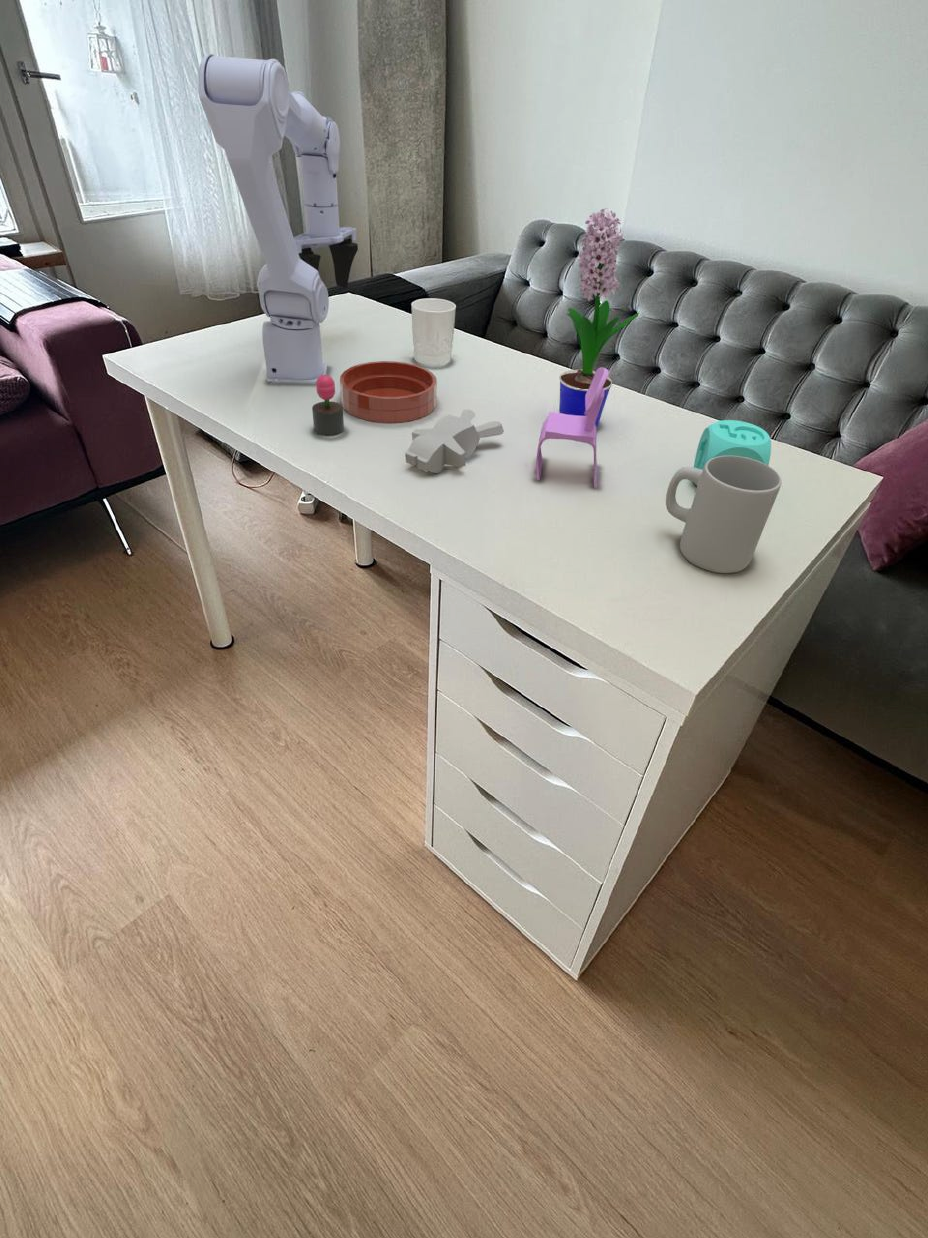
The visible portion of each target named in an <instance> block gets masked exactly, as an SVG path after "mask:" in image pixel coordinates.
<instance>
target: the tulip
mask: <svg viewBox="0 0 928 1238" xmlns="http://www.w3.org/2000/svg"><path fill="white" fill-rule="evenodd" d="M315 385H316V386H315V387H316V388H315V389H316V393H317V394H316V395H318V397H319V398H320V399H322V400H323V401H320V402H317V403H315V404H313V405H312V407H311V410H312V420H313V430H314V432H315V434H317V435H319V436H323V437H335V436H339V435H341V434H342V433H344V431H345V423H344V408H343V406H342V404H341V403H339V402H337V401H336V402H335V401H331V400H332V399H333V398H334V396H335V394H336V384H335V381H334V378H333V377H332V376H330V375H329V374H326V375H321V376H320V377H319V378H318V379H317V381H316V382H315Z"/></svg>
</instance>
